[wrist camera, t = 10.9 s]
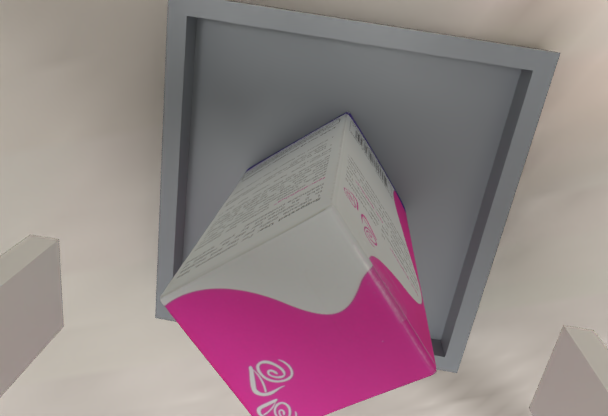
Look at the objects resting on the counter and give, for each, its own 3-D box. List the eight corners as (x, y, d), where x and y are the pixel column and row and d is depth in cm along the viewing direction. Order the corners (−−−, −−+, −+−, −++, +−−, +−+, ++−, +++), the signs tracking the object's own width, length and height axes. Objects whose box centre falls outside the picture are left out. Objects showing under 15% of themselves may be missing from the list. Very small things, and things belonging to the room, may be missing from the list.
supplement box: (241, 171, 24) (148, 296, 13) (349, 107, 22) (342, 192, 12) (304, 266, 25) (266, 447, 15) (409, 213, 24) (452, 373, 13)
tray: (184, -7, 22) (168, -9, 20) (542, 49, 21) (560, 52, 19) (169, 297, 28) (155, 317, 26) (449, 348, 27) (456, 373, 25)
